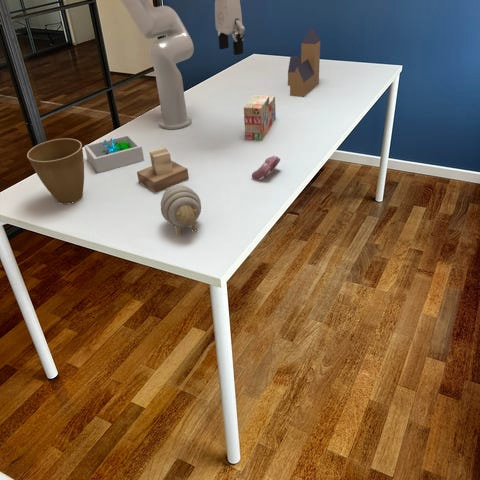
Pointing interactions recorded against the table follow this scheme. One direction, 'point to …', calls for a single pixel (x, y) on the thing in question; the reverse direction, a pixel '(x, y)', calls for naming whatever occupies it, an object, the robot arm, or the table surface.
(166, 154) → the oak block
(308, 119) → the table surface
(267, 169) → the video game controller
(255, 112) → the stack of blocks
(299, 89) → the toy building blocks
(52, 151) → the plant pot
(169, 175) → the base block
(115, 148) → the green blue spiky piece
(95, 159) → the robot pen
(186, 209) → the toy sheep
